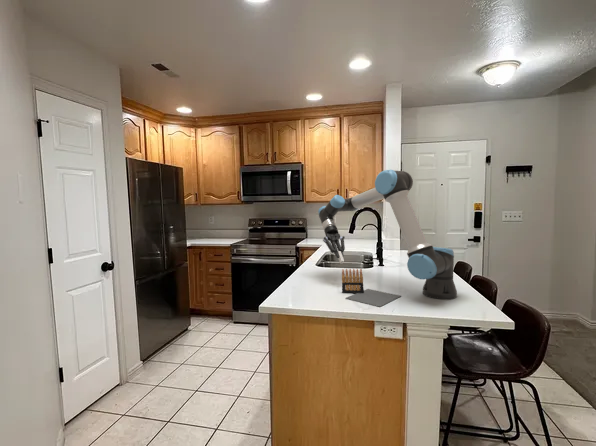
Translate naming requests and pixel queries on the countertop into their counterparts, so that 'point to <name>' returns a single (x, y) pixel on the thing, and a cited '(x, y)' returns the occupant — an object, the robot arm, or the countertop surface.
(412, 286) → the countertop surface
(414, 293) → the countertop surface
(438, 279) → the robot arm
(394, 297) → the rubber mat
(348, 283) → the ammunition clip
